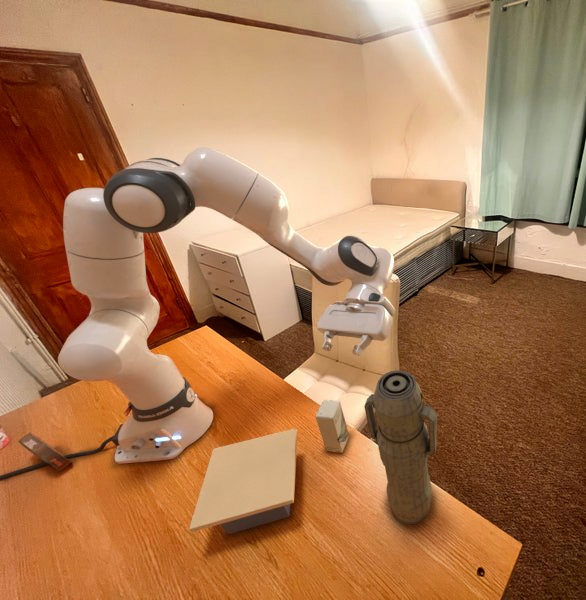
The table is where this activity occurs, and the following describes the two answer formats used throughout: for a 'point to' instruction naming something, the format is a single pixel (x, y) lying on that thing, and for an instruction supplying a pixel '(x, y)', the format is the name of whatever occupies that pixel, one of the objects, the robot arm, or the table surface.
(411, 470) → the thermos
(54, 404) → the table surface
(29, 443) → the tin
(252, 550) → the table surface
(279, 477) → the stand
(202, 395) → the table surface
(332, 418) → the box
